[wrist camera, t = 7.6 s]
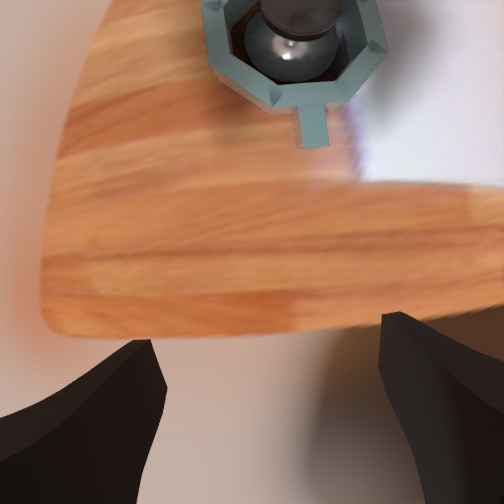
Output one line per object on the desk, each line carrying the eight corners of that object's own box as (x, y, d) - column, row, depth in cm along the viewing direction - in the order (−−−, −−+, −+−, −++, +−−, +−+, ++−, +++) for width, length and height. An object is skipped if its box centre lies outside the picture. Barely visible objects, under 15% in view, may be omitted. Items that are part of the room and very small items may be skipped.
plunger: (326, 4, 14) (349, -47, 8) (342, 80, 15) (377, 50, 10) (239, 10, 14) (228, -42, 8) (251, 87, 16) (245, 57, 10)
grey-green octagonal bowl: (347, -15, 13) (361, -42, 10) (378, 142, 16) (402, 142, 13) (207, -5, 14) (196, -32, 11) (230, 157, 17) (222, 158, 14)
